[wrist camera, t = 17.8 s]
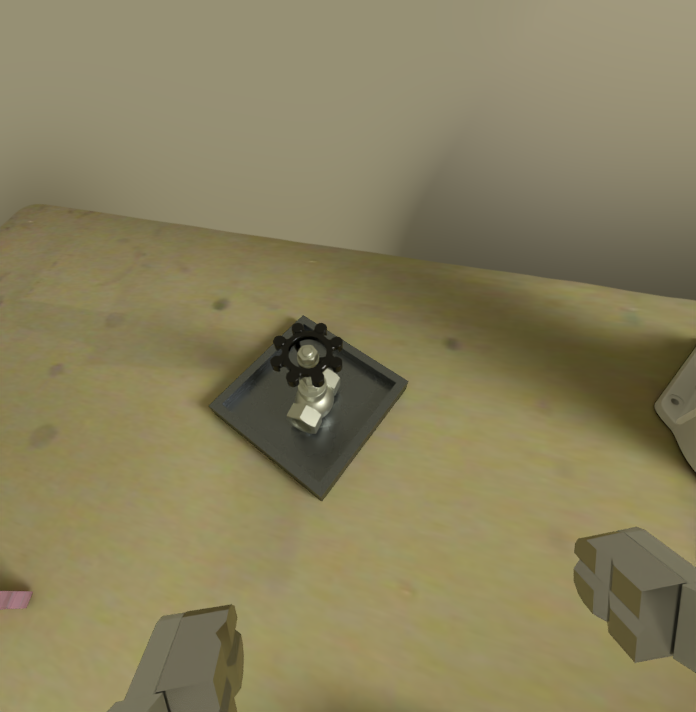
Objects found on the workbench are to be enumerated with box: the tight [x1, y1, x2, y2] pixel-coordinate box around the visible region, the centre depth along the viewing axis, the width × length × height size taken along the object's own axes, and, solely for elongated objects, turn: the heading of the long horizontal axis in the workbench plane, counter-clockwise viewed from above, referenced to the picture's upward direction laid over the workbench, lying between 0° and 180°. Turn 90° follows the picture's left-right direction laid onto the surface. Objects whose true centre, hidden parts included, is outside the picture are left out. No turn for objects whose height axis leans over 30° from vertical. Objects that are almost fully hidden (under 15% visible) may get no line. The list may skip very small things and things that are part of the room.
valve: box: [270, 323, 343, 434], centre depth 37 cm, size 7×7×12 cm
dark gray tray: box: [209, 315, 408, 501], centre depth 42 cm, size 16×16×2 cm
